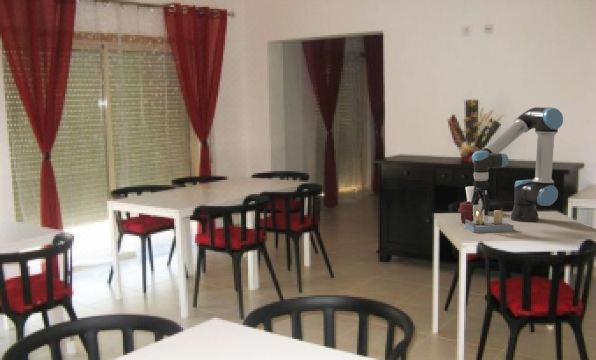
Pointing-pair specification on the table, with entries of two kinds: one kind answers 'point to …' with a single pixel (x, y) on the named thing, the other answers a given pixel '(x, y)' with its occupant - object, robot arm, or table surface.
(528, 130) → the robot arm
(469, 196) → the cup
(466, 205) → the mechanical component
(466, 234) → the table surface
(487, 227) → the jig
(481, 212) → the bushing
